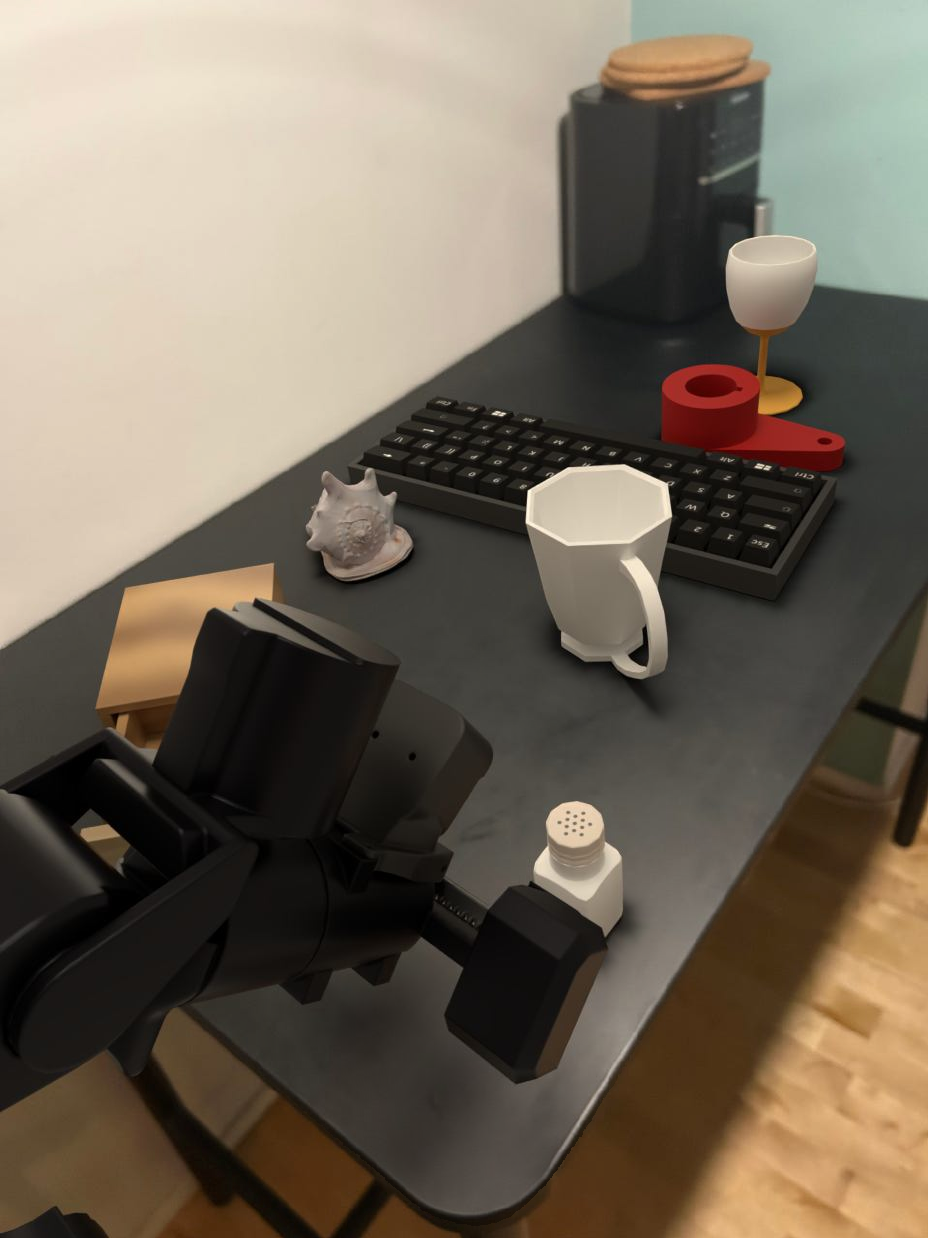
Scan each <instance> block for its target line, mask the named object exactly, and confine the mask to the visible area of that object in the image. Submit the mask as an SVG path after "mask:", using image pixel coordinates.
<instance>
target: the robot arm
mask: <svg viewBox="0 0 928 1238" xmlns="http://www.w3.org/2000/svg"><path fill="white" fill-rule="evenodd" d="M401 664H402V661H401V659H400V658H399V657H398V656H397V655H396V654H395V653H393V652H392V651H390V650H389V649H387V648H386V647H384V646H383V645H381V644H379V643H378V642H376V641H374V640H372V639H371V638H369V637H367V636H364V635H362V634H360V633H358V632H356V631H354V630H352V629H351V628H347V627H345V626H343V625H341V624H338V623H336V622H334V621H331V620H329V619H326V618H324V617H322V616H320V615H316V614H313V613H311V612H307V611H305V610H302V609H299V608H297V607H294V606H290V605H288V604H287V605H284V604H281V603H277V602H274V601H270V600H267V599H262V598H258V597H255V599H254V601H253V602H243V601H241V602H235V604H234V606H233V609H232V610H227V609H222V608H218V607H213V608H212V609H210V610H209V611H208V612H207V613H206V616H205V618H204V621H203V623H202V626H201V628H200V631H199V633H198V636H197V638H196V641H195V644H194V648H193V652H192V658H191V664H190V669H189V672H188V675H187V678H186V680H185V683H184V685H183V688H182V690H181V693H180V695H179V698H178V700H177V703H176V705H175V708H174V710H173V713H172V715H171V718H170V720H169V723H168V726H167V728H166V731H165V733H164V736H163V738H162V741H161V743H160V746H159V748H158V749H145V748H138V747H136V746H135V745H134V744H133V743H131V742H130V741H129V740H128V739H126V738H125V737H124V736H123V735H121V734H120V733H119V732H118V731H116V730H115V729H113V728H111V727H109V728H105V727H104V728H102V729H100V730H99V731H97V732H95V733H94V734H91V735H89V736H88V737H86V738H85V739H82V740H81V741H79V742H77V743H75V744H73V745H72V746H69V747H68V748H66V749H64V750H63V751H62V750H61V751H60V752H59V753H57V754H56V753H54V754H52V755H51V756H50V757H48V758H46V760H44V761H43V762H40V763H39V764H37V765H35V766H33V767H32V768H30V769H28V770H25V771H24V772H22V773H21V774H19V775H17V776H15V777H13V778H11V779H10V780H8V781H6V782H4V783H2V784H0V1113H2V1112H4V1111H6V1110H8V1109H9V1108H11V1107H12V1106H14V1105H16V1104H18V1103H19V1102H21V1101H23V1100H25V1099H27V1098H28V1097H30V1096H32V1095H33V1094H35V1093H37V1092H38V1091H41V1090H43V1089H44V1088H45V1087H47V1086H49V1085H51V1084H52V1083H54V1082H56V1081H58V1080H59V1079H61V1078H63V1077H65V1076H66V1075H68V1074H70V1073H71V1072H72V1073H73V1071H75V1070H77V1069H78V1068H80V1067H81V1066H82V1065H84V1064H86V1063H88V1062H89V1061H91V1060H92V1059H94V1058H95V1057H97V1056H98V1055H100V1054H102V1053H103V1052H104V1054H106V1056H107V1057H108V1058H109V1059H110V1061H111V1062H112V1063H113V1064H114V1065H115V1066H116V1067H117V1069H119V1071H120V1072H121V1073H122V1074H123V1075H124V1077H128V1078H133V1077H135V1076H138V1075H140V1074H141V1073H142V1072H143V1070H144V1069H145V1067H146V1066H147V1064H148V1061H149V1059H150V1056H151V1054H152V1052H153V1049H154V1046H155V1044H156V1042H157V1039H158V1037H159V1034H160V1032H161V1030H162V1027H163V1024H164V1022H165V1020H166V1018H167V1016H168V1014H169V1013H170V1012H171V1011H173V1009H175V1008H180V1007H184V1006H185V1007H186V1006H189V1005H193V1004H197V1003H202V1002H205V1001H210V1000H215V999H220V998H225V997H228V996H233V995H237V994H241V993H246V992H251V991H253V990H258V989H263V988H268V987H272V986H276V985H278V986H280V987H281V988H282V989H283V990H284V991H286V993H287V994H289V995H290V996H291V997H292V998H294V999H295V1001H297V1002H298V1003H299V1004H300V1005H301V1006H305V1005H309V1004H312V1003H317V1002H320V1001H322V999H323V996H324V995H325V991H326V989H327V988H328V985H329V982H330V979H331V977H332V974H333V973H334V972H338V971H342V970H346V969H351V970H353V971H354V972H355V973H357V974H358V975H359V976H360V977H361V978H363V979H364V980H365V981H366V982H368V983H369V985H371V986H372V987H378V986H381V985H385V984H388V983H390V982H391V980H392V977H393V974H394V972H395V970H396V968H397V964H398V963H399V960H400V957H401V955H402V953H405V952H408V951H410V950H411V949H412V948H413V947H414V946H415V945H416V944H417V943H418V942H419V940H420V939H421V938H422V939H423V940H424V941H425V942H427V943H429V944H430V945H431V946H432V947H434V948H435V949H437V950H438V951H439V952H441V953H442V954H443V955H445V956H446V957H447V958H449V959H450V960H451V961H453V962H454V963H455V964H457V965H458V966H460V967H461V968H462V970H461V973H460V975H459V977H458V980H457V982H456V984H455V987H454V989H453V991H452V994H451V997H450V999H449V1001H448V1004H447V1006H446V1008H445V1010H444V1013H443V1017H444V1020H445V1024H446V1028H447V1031H448V1032H449V1033H450V1034H451V1035H452V1036H454V1037H455V1038H456V1039H457V1040H459V1041H460V1042H461V1043H463V1045H465V1046H467V1047H468V1048H469V1049H470V1050H471V1051H473V1052H474V1053H475V1054H477V1056H479V1057H480V1058H482V1059H483V1060H484V1061H485V1062H486V1063H488V1064H489V1065H490V1066H491V1067H493V1068H494V1069H496V1071H498V1072H499V1073H500V1074H501V1075H503V1076H504V1077H505V1078H507V1079H508V1080H509V1081H511V1082H512V1083H513V1084H514V1085H520V1084H524V1083H527V1082H531V1081H534V1080H535V1081H536V1080H537V1079H540V1078H541V1077H543V1076H546V1075H547V1074H550V1073H552V1072H553V1071H555V1070H557V1069H558V1067H559V1065H560V1062H561V1060H562V1058H563V1056H564V1053H565V1052H566V1049H567V1046H568V1044H569V1042H570V1039H571V1037H572V1034H573V1032H574V1030H575V1027H576V1026H577V1023H578V1021H579V1020H580V1019H579V1018H580V1016H581V1014H582V1012H583V1009H584V1007H585V1004H586V1002H587V1000H588V997H589V995H590V993H591V990H592V988H593V986H594V984H595V981H596V979H597V977H598V975H599V973H600V970H601V968H602V965H603V963H604V960H605V958H606V956H607V953H608V951H609V945H608V941H607V940H606V937H605V936H604V933H603V929H602V927H600V926H599V925H597V924H595V923H594V922H592V921H591V920H589V919H588V918H586V917H585V916H583V915H581V913H580V912H579V911H578V910H576V909H575V908H573V907H572V906H570V905H568V904H567V903H565V902H564V901H562V900H561V899H559V898H557V897H556V896H554V895H553V894H551V893H550V892H548V891H547V890H545V889H543V888H542V887H540V886H539V885H537V884H536V883H535V881H533V880H530V881H529V882H528V884H527V885H525V884H517V885H509V886H507V888H505V890H504V891H503V892H502V894H501V895H500V896H499V897H498V898H497V899H496V900H495V901H494V903H492V905H491V906H490V905H489V904H487V903H486V902H484V901H483V900H481V899H480V898H478V897H477V896H476V895H474V894H473V893H471V892H469V891H468V890H467V889H465V888H464V887H462V886H461V885H460V884H458V883H457V882H455V881H453V880H452V879H451V878H449V877H447V876H446V874H447V872H448V869H449V867H450V864H451V861H452V859H453V857H454V855H455V852H454V851H453V850H452V849H449V848H448V847H447V846H445V845H444V844H442V843H440V842H439V839H440V837H441V836H443V835H444V834H445V833H446V832H447V831H448V829H450V827H451V825H452V824H453V822H454V821H455V819H456V818H457V816H458V815H459V813H460V811H461V810H462V808H463V806H464V805H465V803H466V801H467V800H468V798H469V797H470V795H471V794H472V792H473V790H474V789H475V787H476V785H477V784H478V782H479V781H480V780H481V779H482V778H484V777H485V776H486V774H487V772H488V771H489V769H490V768H491V765H492V764H493V759H494V749H493V747H492V744H491V742H490V741H489V740H488V739H487V738H486V737H485V736H484V735H483V734H482V733H481V732H480V731H479V730H478V729H477V728H476V727H475V726H473V724H472V723H471V722H469V720H468V719H467V718H465V716H463V714H462V713H461V712H460V711H458V710H457V709H456V708H454V707H453V706H450V705H448V704H447V703H445V702H443V701H441V700H440V699H438V698H436V697H434V696H432V695H431V694H428V693H426V691H425V692H424V691H423V690H422V689H420V688H418V687H415V686H413V685H412V684H410V683H408V682H406V681H404V680H403V679H400V678H398V677H397V678H396V676H397V673H398V672H399V669H400V667H401ZM90 810H91V811H93V812H94V813H95V815H97V816H98V817H99V819H100V820H101V819H102V820H104V821H105V822H106V823H107V824H108V825H109V826H110V827H111V828H112V829H113V830H114V831H116V832H117V833H118V834H119V835H120V836H121V837H122V838H123V839H124V840H125V841H126V842H127V843H129V844H130V847H129V848H128V849H127V851H126V852H125V854H124V856H123V858H119V859H118V861H117V862H116V863H115V866H114V867H113V866H112V865H111V864H110V863H109V862H108V861H107V860H106V859H105V858H104V857H103V856H102V855H101V854H100V853H99V852H97V851H96V850H95V849H94V848H93V847H92V846H91V845H90V844H89V843H88V842H87V841H86V840H85V839H84V838H83V837H82V836H81V835H80V834H81V833H79V831H77V830H76V829H75V828H74V827H73V826H74V825H75V824H76V823H77V822H78V821H80V819H81V818H83V816H85V815H86V813H87V812H89V811H90ZM102 820H101V821H102ZM0 1238H110V1236H109V1235H108V1234H107V1233H106V1231H105V1229H104V1228H103V1227H102V1226H101V1225H100V1224H99V1223H98V1222H97V1221H96V1220H95V1219H93V1218H91V1216H90V1215H89V1214H88V1213H87V1212H72V1213H68V1214H63V1213H62V1211H61V1210H60V1208H59V1207H58V1206H57V1205H54V1206H52V1207H51V1208H49V1209H47V1210H46V1211H45V1212H43V1213H42V1214H40V1215H38V1216H36V1218H34V1219H32V1220H30V1221H28V1222H26V1223H24V1224H22V1225H20V1226H18V1227H16V1228H14V1229H11V1230H7V1231H3V1232H0Z"/></svg>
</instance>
